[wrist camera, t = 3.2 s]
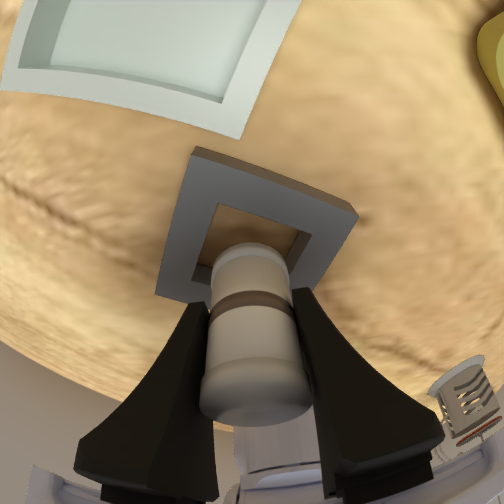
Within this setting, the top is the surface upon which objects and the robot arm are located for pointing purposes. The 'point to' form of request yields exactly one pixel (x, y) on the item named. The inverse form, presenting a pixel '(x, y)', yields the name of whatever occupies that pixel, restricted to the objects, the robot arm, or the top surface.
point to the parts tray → (151, 55)
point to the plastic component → (493, 53)
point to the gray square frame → (255, 202)
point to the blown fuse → (253, 342)
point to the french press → (466, 400)
